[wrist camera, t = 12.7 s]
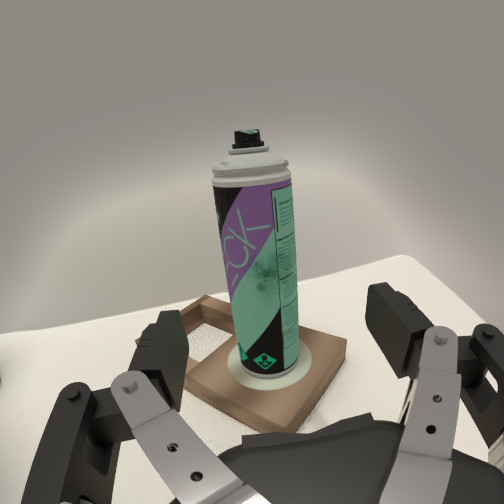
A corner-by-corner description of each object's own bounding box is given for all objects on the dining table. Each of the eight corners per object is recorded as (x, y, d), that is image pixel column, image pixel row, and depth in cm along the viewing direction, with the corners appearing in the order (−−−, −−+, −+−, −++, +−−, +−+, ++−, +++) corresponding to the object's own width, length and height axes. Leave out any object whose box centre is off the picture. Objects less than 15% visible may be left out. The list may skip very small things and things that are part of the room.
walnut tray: (142, 359, 32) (134, 339, 31) (208, 312, 40) (204, 293, 39) (285, 444, 20) (285, 426, 19) (344, 360, 29) (347, 338, 27)
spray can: (259, 335, 30) (235, 132, 22) (307, 348, 27) (298, 125, 19) (229, 368, 26) (189, 136, 18) (282, 387, 23) (261, 126, 15)
